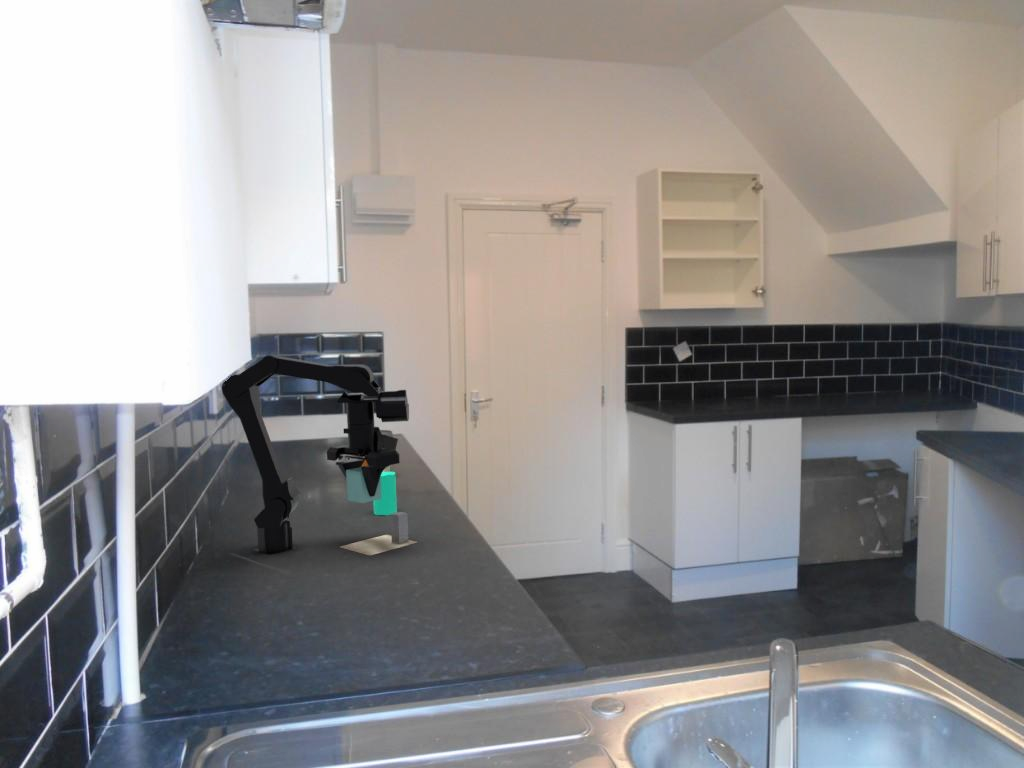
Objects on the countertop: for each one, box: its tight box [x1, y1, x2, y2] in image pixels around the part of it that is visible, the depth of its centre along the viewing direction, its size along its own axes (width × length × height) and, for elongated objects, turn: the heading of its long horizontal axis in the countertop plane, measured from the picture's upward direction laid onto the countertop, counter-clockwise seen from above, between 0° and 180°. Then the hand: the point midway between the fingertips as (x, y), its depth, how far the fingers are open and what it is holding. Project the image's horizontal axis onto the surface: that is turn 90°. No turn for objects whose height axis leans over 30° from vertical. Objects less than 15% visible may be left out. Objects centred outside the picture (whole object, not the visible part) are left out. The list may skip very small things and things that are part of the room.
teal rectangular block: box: [345, 467, 382, 504], centre depth 175 cm, size 5×5×7 cm
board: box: [339, 534, 418, 556], centre depth 176 cm, size 13×11×1 cm
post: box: [390, 511, 410, 545], centre depth 177 cm, size 3×3×7 cm
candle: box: [372, 470, 398, 516], centre depth 209 cm, size 6×6×12 cm
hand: (364, 494), depth 175 cm, fingers closed on teal rectangular block, 5 cm apart
